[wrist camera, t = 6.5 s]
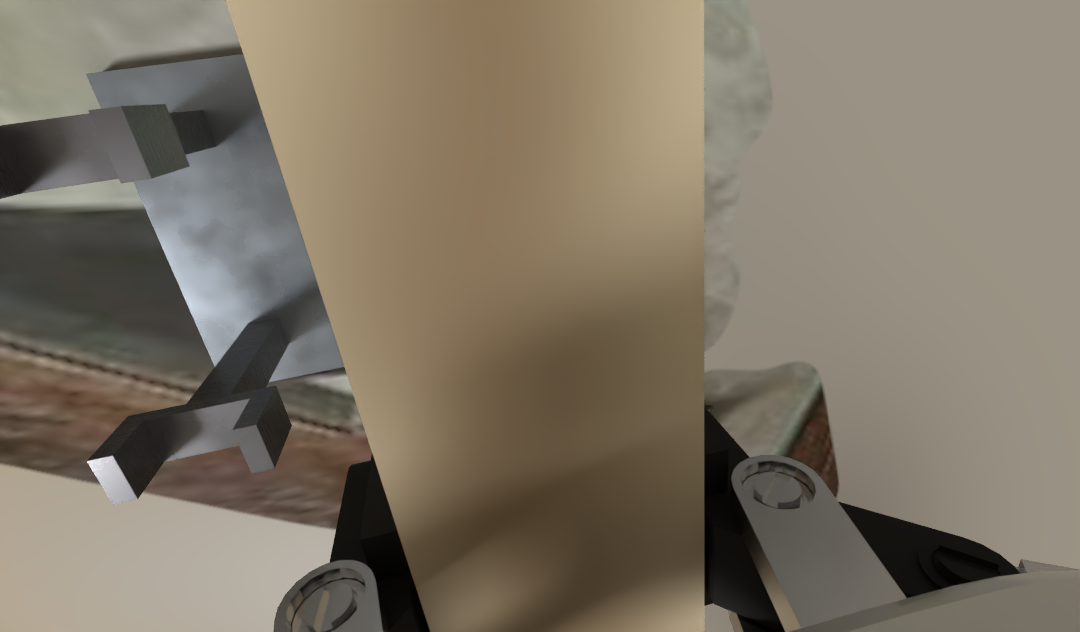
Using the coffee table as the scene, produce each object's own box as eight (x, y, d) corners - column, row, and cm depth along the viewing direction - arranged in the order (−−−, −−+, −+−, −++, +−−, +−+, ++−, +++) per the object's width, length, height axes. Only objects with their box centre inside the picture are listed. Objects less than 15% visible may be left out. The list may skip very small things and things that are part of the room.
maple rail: (589, -164, 7) (703, -341, 4) (652, 725, 14) (704, 872, 12) (256, -137, 6) (123, -316, 3) (507, 770, 14) (528, 935, 11)
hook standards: (249, 55, 30) (108, 26, 17) (346, 358, 39) (304, 503, 25) (98, 74, 29) (-181, 60, 16) (231, 382, 38) (122, 546, 24)
